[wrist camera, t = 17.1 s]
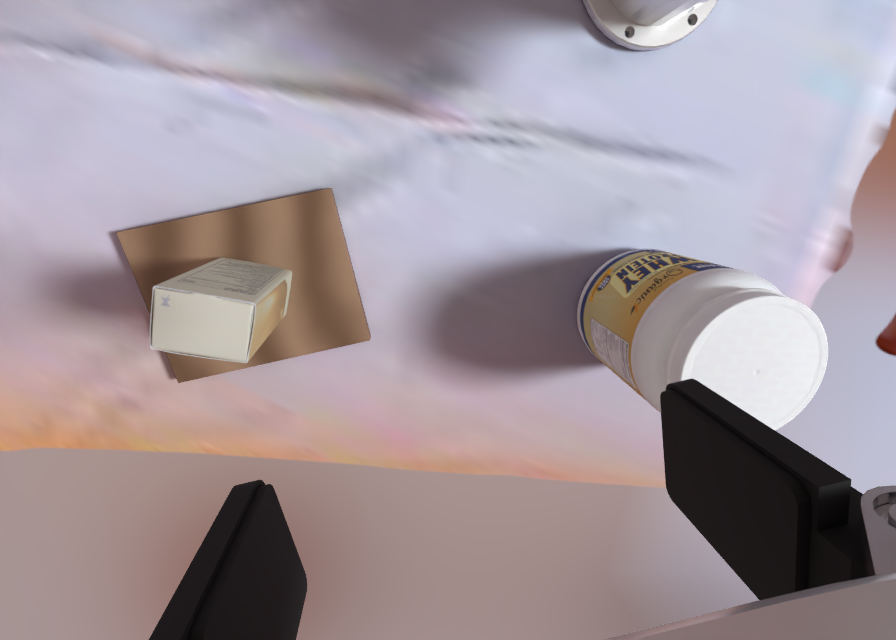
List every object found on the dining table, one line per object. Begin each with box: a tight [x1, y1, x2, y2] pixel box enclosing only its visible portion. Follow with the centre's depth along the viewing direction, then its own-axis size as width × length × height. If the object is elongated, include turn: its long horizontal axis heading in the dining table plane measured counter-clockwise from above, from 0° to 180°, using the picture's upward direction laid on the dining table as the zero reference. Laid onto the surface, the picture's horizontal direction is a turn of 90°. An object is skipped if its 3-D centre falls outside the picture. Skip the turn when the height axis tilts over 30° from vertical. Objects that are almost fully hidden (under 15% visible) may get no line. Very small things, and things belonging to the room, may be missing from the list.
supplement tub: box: [577, 249, 828, 430], centre depth 38 cm, size 12×12×17 cm
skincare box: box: [150, 257, 292, 363], centre depth 35 cm, size 6×4×12 cm
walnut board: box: [116, 188, 371, 383], centre depth 41 cm, size 18×14×1 cm
